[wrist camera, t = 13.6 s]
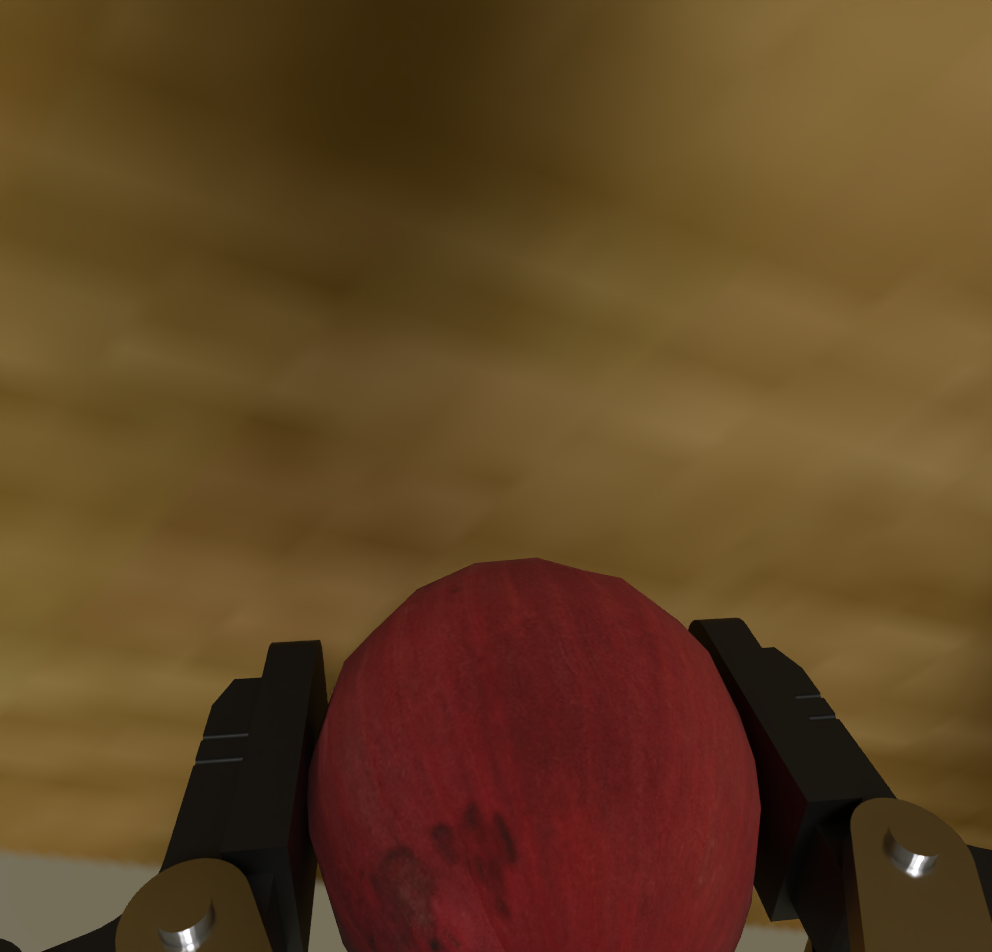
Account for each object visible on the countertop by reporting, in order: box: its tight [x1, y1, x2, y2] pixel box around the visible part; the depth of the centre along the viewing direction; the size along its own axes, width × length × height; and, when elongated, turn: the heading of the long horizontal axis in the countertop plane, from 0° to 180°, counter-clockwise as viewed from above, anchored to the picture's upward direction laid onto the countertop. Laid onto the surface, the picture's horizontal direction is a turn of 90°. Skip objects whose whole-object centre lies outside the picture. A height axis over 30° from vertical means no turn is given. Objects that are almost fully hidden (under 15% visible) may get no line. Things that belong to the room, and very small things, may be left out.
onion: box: [307, 558, 761, 952], centre depth 10 cm, size 6×6×8 cm
